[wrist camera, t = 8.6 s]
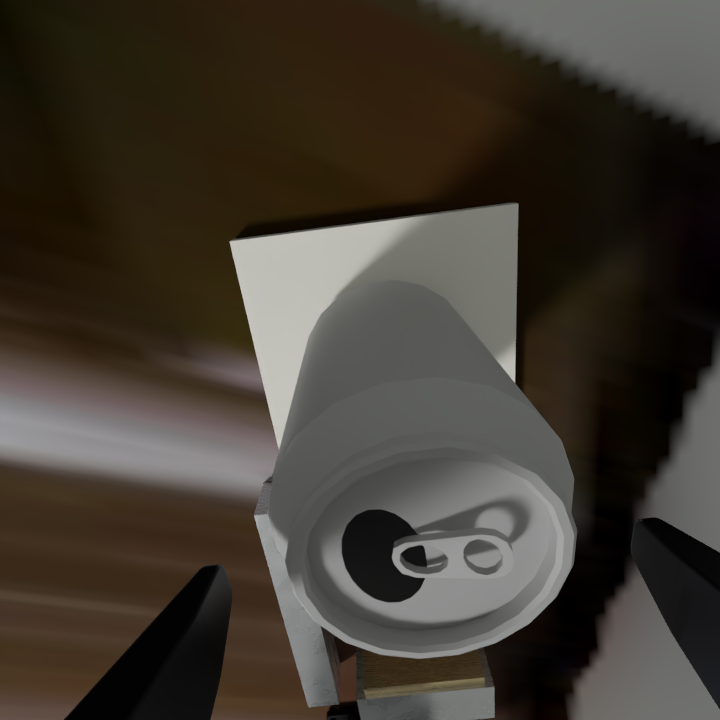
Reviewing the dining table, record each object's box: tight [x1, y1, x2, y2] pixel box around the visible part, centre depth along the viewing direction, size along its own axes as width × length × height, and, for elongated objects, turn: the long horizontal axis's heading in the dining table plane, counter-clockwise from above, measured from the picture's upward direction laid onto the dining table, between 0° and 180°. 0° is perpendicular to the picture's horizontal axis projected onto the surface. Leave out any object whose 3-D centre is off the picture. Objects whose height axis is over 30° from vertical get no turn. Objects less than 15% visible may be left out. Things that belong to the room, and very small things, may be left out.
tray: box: [230, 202, 518, 449], centre depth 20 cm, size 12×12×1 cm
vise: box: [254, 482, 495, 720], centre depth 25 cm, size 16×12×4 cm
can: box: [267, 280, 577, 659], centre depth 14 cm, size 8×8×12 cm
